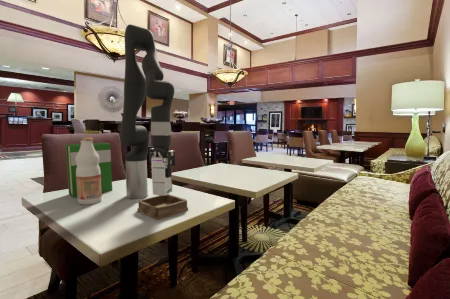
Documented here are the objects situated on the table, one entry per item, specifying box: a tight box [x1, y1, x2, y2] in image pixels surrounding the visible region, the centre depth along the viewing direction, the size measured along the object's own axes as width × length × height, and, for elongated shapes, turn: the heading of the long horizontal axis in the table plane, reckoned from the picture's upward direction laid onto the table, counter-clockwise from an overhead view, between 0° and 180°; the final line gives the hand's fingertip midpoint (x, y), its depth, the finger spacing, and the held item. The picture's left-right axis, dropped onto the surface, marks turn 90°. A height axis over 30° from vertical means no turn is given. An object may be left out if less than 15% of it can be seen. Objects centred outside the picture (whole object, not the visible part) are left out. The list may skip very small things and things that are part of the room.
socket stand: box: [137, 193, 189, 221], centre depth 99 cm, size 14×14×4 cm
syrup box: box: [151, 157, 173, 196], centre depth 98 cm, size 6×6×14 cm
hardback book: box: [65, 142, 113, 199], centre depth 123 cm, size 18×7×24 cm, turn 135°
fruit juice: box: [75, 137, 103, 205], centre depth 108 cm, size 9×9×28 cm
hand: (162, 175), depth 98 cm, fingers closed on syrup box, 7 cm apart
